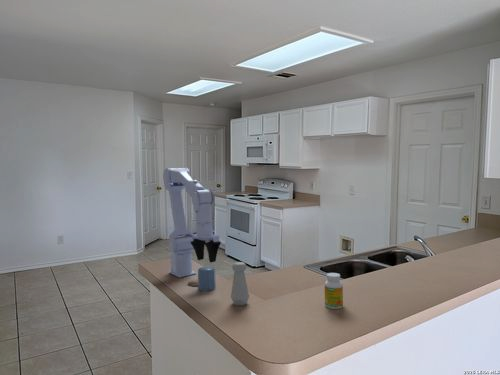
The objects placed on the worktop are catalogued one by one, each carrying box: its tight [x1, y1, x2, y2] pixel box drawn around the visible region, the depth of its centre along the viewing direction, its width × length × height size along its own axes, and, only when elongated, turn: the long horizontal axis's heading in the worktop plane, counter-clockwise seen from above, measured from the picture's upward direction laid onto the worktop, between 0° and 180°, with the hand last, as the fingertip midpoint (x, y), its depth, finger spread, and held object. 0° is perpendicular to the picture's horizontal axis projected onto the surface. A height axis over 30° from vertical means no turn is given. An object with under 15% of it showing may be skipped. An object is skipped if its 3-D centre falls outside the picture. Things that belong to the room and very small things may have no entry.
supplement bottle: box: [324, 272, 344, 310], centre depth 107 cm, size 5×5×10 cm
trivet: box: [187, 279, 198, 287], centre depth 133 cm, size 7×7×1 cm
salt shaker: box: [230, 261, 250, 307], centre depth 111 cm, size 6×6×13 cm
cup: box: [197, 266, 217, 292], centre depth 127 cm, size 6×6×7 cm
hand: (206, 260), depth 127 cm, fingers open, 7 cm apart
